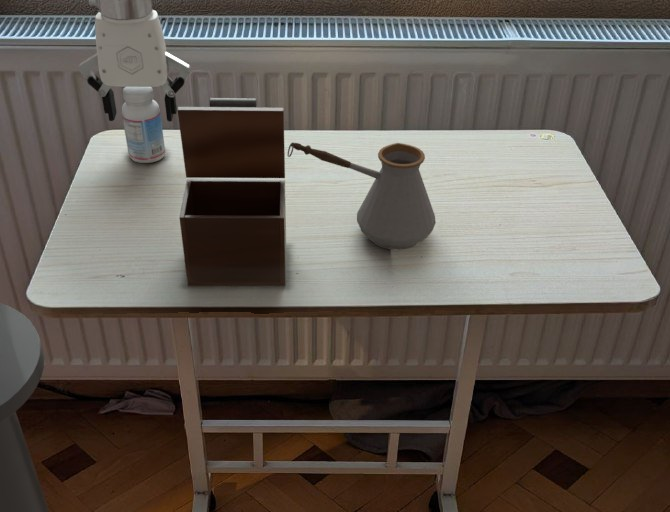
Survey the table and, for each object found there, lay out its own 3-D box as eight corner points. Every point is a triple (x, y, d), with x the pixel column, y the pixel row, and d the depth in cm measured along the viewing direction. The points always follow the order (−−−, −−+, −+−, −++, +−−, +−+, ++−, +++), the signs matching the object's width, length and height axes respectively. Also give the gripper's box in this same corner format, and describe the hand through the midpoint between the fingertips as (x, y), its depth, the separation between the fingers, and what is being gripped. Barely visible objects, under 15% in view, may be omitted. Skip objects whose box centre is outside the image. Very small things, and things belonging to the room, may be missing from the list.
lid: (283, 111, 104) (283, 88, 107) (177, 109, 103) (181, 87, 107) (285, 178, 112) (285, 155, 115) (186, 177, 111) (189, 154, 115)
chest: (285, 286, 113) (284, 217, 105) (187, 286, 112) (179, 217, 105) (286, 246, 120) (285, 179, 112) (193, 246, 119) (186, 179, 112)
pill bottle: (161, 144, 141) (153, 79, 133) (169, 161, 137) (161, 94, 129) (125, 150, 139) (114, 84, 131) (132, 167, 135) (121, 99, 127)
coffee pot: (426, 213, 127) (436, 119, 117) (440, 256, 119) (453, 159, 108) (286, 217, 125) (284, 123, 115) (291, 261, 117) (289, 163, 106)
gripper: (60, 12, 118) (82, 127, 130) (183, 14, 119) (194, 128, 131) (70, -6, 124) (91, 106, 136) (187, -4, 124) (198, 107, 136)
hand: (141, 117), depth 133 cm, fingers open, 8 cm apart
